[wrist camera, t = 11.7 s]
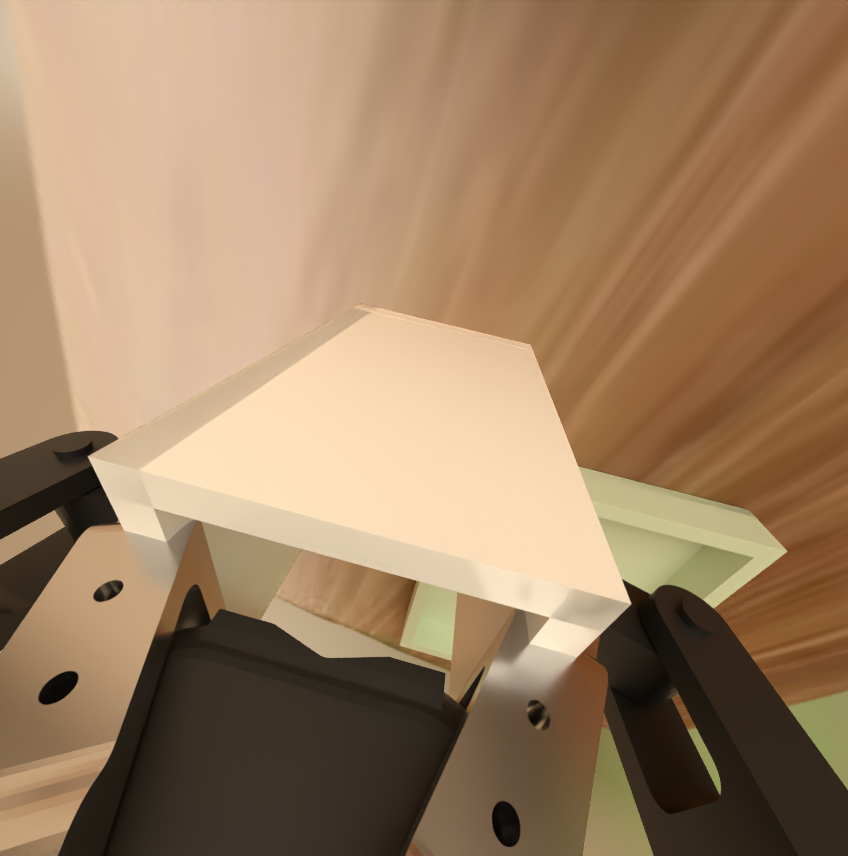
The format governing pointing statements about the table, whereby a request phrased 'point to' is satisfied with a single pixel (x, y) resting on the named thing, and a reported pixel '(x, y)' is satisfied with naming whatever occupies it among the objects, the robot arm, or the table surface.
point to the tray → (636, 552)
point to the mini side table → (384, 478)
